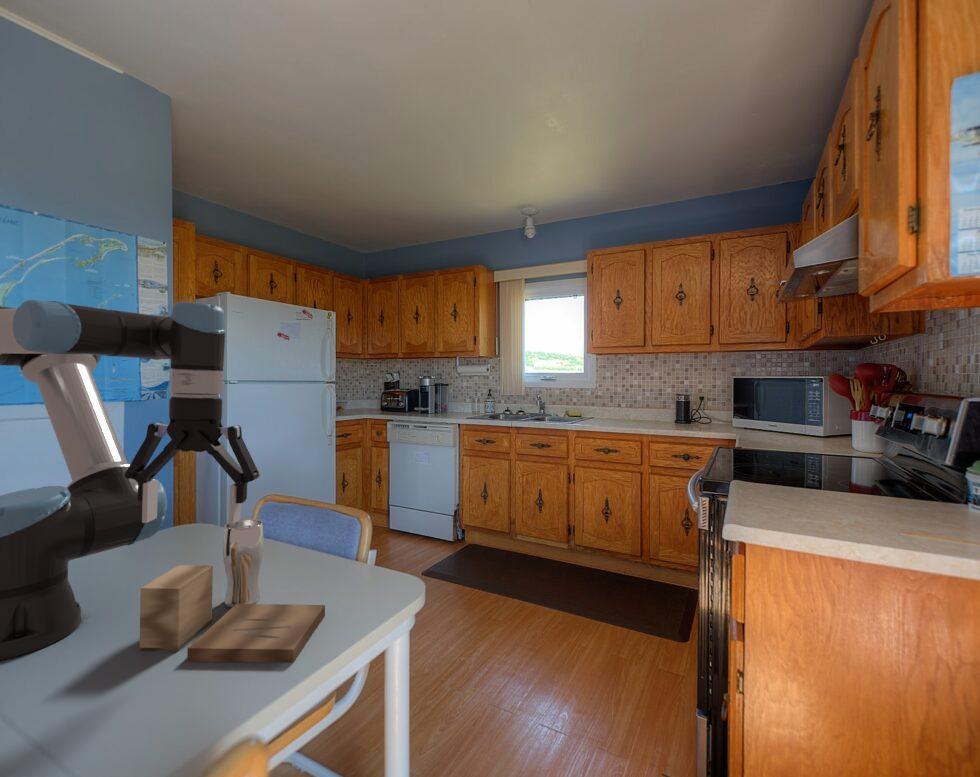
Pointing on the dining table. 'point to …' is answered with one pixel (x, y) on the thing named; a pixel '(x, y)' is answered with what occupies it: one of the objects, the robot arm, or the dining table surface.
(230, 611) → the board
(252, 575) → the beer glass
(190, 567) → the block
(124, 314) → the robot arm
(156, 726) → the dining table surface
